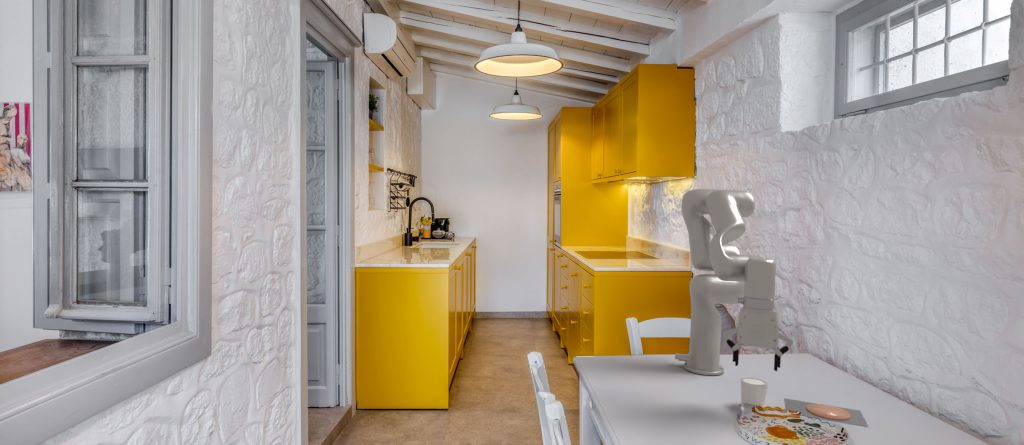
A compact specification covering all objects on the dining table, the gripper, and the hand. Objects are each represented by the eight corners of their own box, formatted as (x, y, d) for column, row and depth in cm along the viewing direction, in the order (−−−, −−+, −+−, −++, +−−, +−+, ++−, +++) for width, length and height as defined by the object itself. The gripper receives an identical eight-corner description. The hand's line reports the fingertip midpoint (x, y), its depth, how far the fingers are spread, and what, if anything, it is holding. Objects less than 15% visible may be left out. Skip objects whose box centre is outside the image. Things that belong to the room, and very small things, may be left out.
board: (786, 418, 142) (786, 413, 142) (784, 403, 153) (784, 398, 153) (868, 433, 135) (868, 427, 135) (859, 416, 146) (860, 410, 146)
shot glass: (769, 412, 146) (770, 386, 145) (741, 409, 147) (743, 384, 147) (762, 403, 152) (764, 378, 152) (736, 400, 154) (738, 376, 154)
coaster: (808, 415, 141) (808, 413, 141) (804, 402, 150) (805, 401, 150) (853, 423, 137) (853, 421, 137) (847, 409, 146) (847, 408, 146)
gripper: (723, 302, 148) (720, 366, 149) (795, 309, 141) (792, 375, 142) (725, 299, 155) (722, 359, 156) (793, 305, 148) (790, 368, 149)
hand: (755, 367), depth 149 cm, fingers open, 9 cm apart
